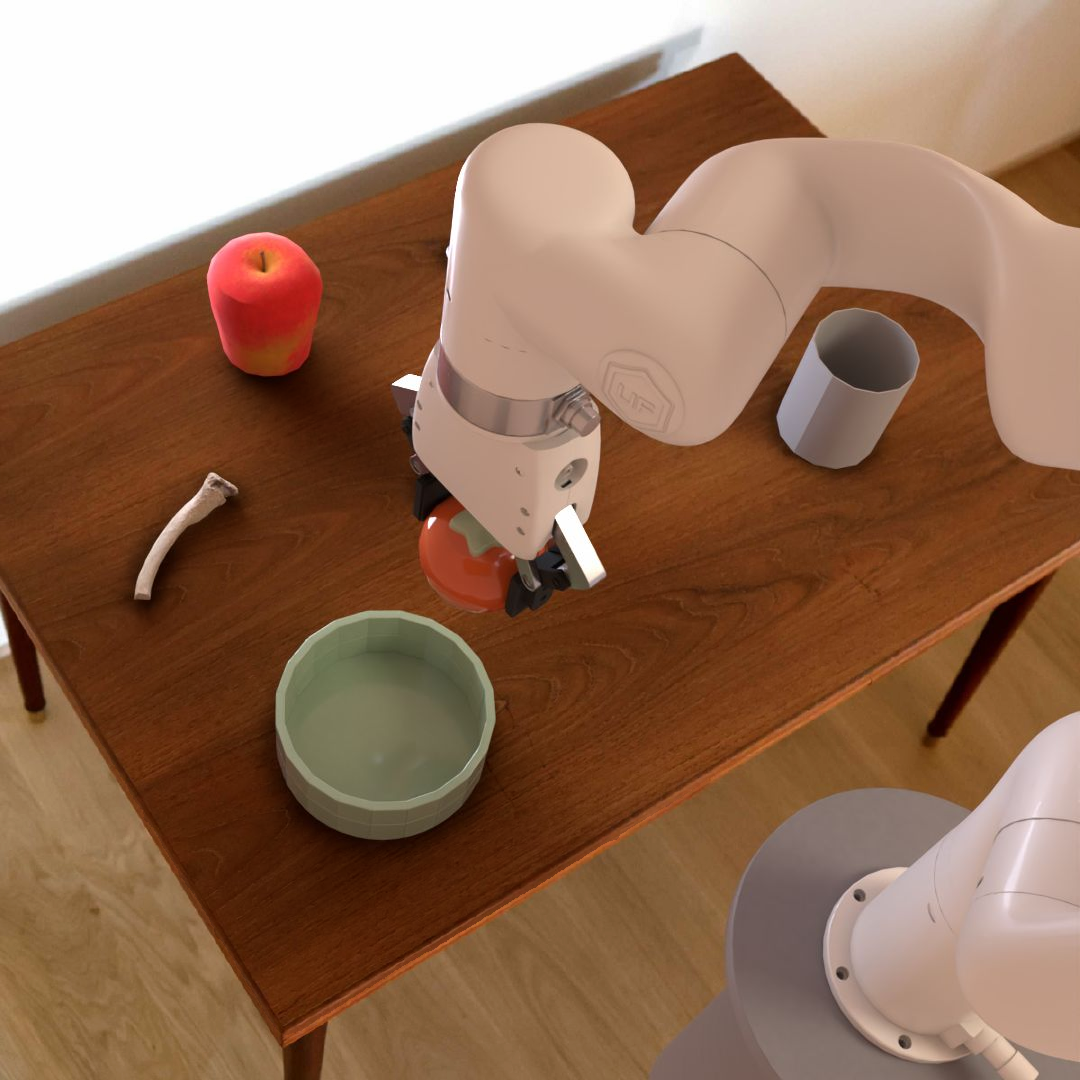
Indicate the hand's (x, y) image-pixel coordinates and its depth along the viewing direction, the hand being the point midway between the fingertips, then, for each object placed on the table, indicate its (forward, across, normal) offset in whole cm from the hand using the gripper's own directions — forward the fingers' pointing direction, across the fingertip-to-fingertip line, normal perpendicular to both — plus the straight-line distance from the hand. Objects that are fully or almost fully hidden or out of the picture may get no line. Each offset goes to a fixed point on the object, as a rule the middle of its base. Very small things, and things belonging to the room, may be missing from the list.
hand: (481, 552), depth 81 cm
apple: (+19, +32, -8) cm, 38 cm away
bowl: (+19, +1, +6) cm, 20 cm away
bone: (+19, +22, +8) cm, 30 cm away
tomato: (+3, 0, 0) cm, 3 cm away
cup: (+20, 0, -40) cm, 45 cm away
